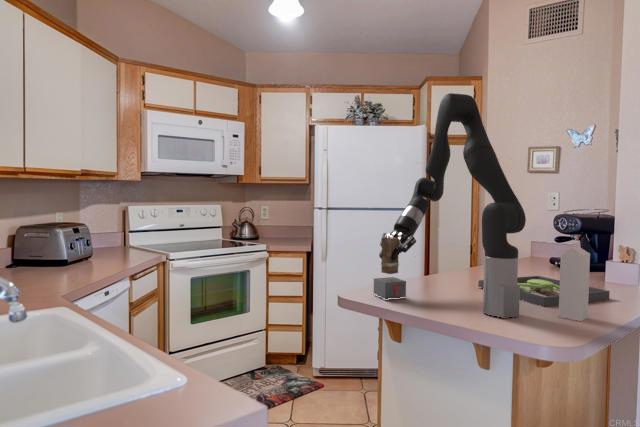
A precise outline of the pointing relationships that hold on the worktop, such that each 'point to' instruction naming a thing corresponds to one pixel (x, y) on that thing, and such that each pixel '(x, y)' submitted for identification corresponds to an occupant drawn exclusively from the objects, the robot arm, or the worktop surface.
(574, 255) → the milk
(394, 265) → the column
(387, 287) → the block
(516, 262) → the robot arm
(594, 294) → the dark gray tray
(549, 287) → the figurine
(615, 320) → the worktop surface
